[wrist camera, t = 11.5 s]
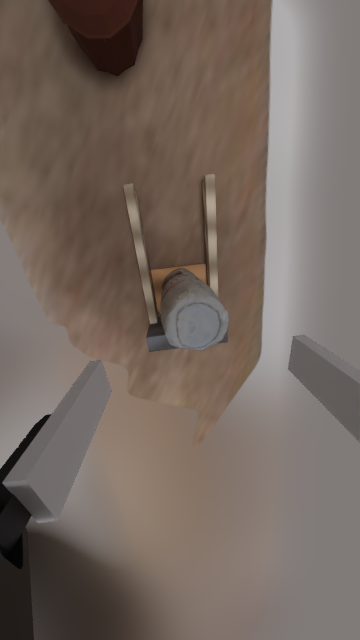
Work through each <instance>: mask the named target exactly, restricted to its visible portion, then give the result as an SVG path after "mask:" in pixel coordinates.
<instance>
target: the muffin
mask: <svg viewBox="0 0 360 640" xmlns="http://www.w3.org/2000/svg"><path fill="white" fill-rule="evenodd" d="M49 2H50V3H51V5H52V6H53V8H54V9H55V11H56V12H57V14H58V15H59V17H60V18H61V19H62V21H63V22H64V23H65V24H66V25H67V26H68V28H69V29H70V31H71V33H72V34H73V36H74V38H75V39H76V41H77V42H78V44H79V46H80V47H81V49H82V50H83V51H84V52H85V53H86V54H87V55H88V57H89V58H90V59H91V60H92V62H93V63H94V65H95V67H96V68H97V70H99V71H105V72H109V73H111V74H114V75H116V76H119V75H120V74H121V73H122V72H123V71H124V70H125V69H127V68H129V67H131V66H133V65H135V60H136V56H137V51H138V49H139V46H140V44H141V41H142V13H143V0H49Z"/></svg>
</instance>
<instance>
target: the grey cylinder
mask: <svg viewBox="0 0 360 640" xmlns="http://www.w3.org/2000/svg"><path fill="white" fill-rule="evenodd" d="M160 309H161V322H162V325H163V329H164V332H165V336H166V337H167V340H168V342H169V344H170V345H173V346H175V347H178V348H182V349H193V350H205V349H207V348H208V347H210V346H212V345H214V344H216V343H218V342H220V341H221V340H222V339H223V337H224V335H225V333H226V331H227V328H228V322H229V318H228V311H227V310H226V308H225V307H224V305H223V304H222V302H221V301H220V300H219V299H218V297H217V296H216V294H215V293H214V291H213V290H212V289H211V288H210V287H209V286H208V285H207V284H205V283H204V282H203V281H202V280H201V279H199V278H198V277H197V276H195V275H194V274H193V273H192V272H190V271H188V270H187V269H185V268H181V269H180V268H178V269H176V270H174V271H172V272H171V273H170V274H169V275H168V276H167V277H166V278H165V279H164V281H163V283H162V293H161V303H160Z"/></svg>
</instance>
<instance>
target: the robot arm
mask: <svg viewBox="0 0 360 640" xmlns="http://www.w3.org/2000/svg"><path fill="white" fill-rule="evenodd" d="M288 369H289V371H290V372H291V373H293V375H294V376H295V377H296V378H297V379H298V380H299V381H300V382H301V383H302V384H303V385H304V386H305V387H306V388H307V389H308V390H309V391H310V392H311V393H312V394H313V395H314V396H315V397H316V398H317V399H318V400H319V401H320V402H321V403H322V404H323V405H324V406H325V407H326V408H327V410H328V411H330V413H331V414H332V415H333V416H334V417H335V418H336V419H337V420H338V421H339V422H340V423H341V424H342V425H343V426H344V427H345V428H346V429H347V430H348V431H349V432H350V433H351V434H352V435H353V436H354V437H355V438H356V439H357V440H358V441H359V442H360V371H359V370H358V369H357V368H355V367H353V366H352V365H350V364H349V363H347V362H346V361H344V360H342V359H341V358H340V357H338V356H336V355H335V354H333V353H332V352H330V351H329V350H327V349H326V348H324V347H322V346H321V345H319V344H318V343H316V342H315V341H313V340H311V339H310V338H308V337H307V336H305V335H299V336H293V340H292V346H291V353H290V360H289V366H288ZM111 392H112V390H111V387H110V384H109V381H108V378H107V375H106V372H105V370H104V366H103V364H102V361H101V360H96V361H90V362H89V363H88V365H87V366H86V368H85V369H84V370H83V372H82V373H81V375H80V376H79V377H78V379H77V380H76V381H75V383H74V384H73V386H72V387H71V388H70V390H69V391H68V392H67V394H66V395H65V397H64V398H63V400H62V401H61V402H60V403H59V405H58V406H57V408H56V409H55V410H54V412H53V413H52V414H50V415H45V416H44V417H43V418H42V419H41V420H40V421H39V422H37V423H36V424H35V425H34V427H33V428H32V429H31V430H30V432H29V433H28V434H27V436H26V438H24V439H23V441H22V442H21V443H20V445H19V447H18V448H17V449H16V450H15V451H14V452H13V454H12V455H11V456H10V457H9V459H8V460H7V461H6V463H5V464H4V465H3V466H2V468H1V469H0V640H34V635H33V616H32V598H31V580H30V564H29V545H28V532H27V529H26V525H27V523H28V521H29V519H30V517H31V516H32V517H33V518H34V519H35V520H36V521H37V523H41V522H50V521H58V518H59V516H60V514H61V511H62V509H63V507H64V504H65V502H66V499H67V497H68V494H69V492H70V490H71V487H72V485H73V483H74V480H75V478H76V476H77V473H78V471H79V468H80V466H81V463H82V461H83V459H84V456H85V454H86V452H87V449H88V447H89V444H90V442H91V440H92V437H93V435H94V432H95V430H96V428H97V425H98V423H99V420H100V418H101V416H102V413H103V411H104V409H105V406H106V404H107V401H108V399H109V397H110V394H111Z"/></svg>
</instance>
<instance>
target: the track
mask: <svg viewBox="0 0 360 640" xmlns="http://www.w3.org/2000/svg"><path fill="white" fill-rule="evenodd" d="M123 187H124V192H125V197H126V202H127V208H128V213H129V218H130V223H131V228H132V233H133V239H134V244H135V249H136V254H137V259H138V264H139V270H140V275H141V280H142V285H143V290H144V295H145V300H146V306H147V311H148V316H149V321H150V326H149V330H148V333H147V337H146V339H147V343H148V348H149V352H152V351H160V350H168V349H176V348H178V347H175V346H173V345H170V344H169V342H168V340H167V337H166V336H165V332H164V329H163V325H162V322H161V318H158V314H157V309H158V312H161V309H160V303H161V293H162V283H163V281H164V279H165V278H166V277H167V276H168V275H169V274H170V273H171V272H172V271H174V270H176V269H178V268H180V269H181V268H185V269H187V270H188V271H190V272H192V273H193V274H194V275H195V276H197V277H198V278H199V279H201V280H202V281H203V282H204V283H205V284H207V285H208V286H209V287H210V288H211V289H212V290H213V291H214V293H215V294H216V296H217V297H218V270H217V236H216V201H215V174H209V175H205V177H204V179H203V181H202V190H203V209H204V228H205V248H206V263H204V264H195V265H187V266H179V267H171V268H162V269H154V270H151V273H150V268H149V262H148V256H147V250H146V244H145V238H144V233H143V227H142V221H141V215H140V209H139V204H138V198H137V192H136V189H135V187H134V185H133V184H126V185H123ZM206 267H207V280H206ZM151 274H152V279H151ZM152 280H153V285H152ZM153 286H154V291H153ZM154 292H155V297H154ZM155 298H156V302H155ZM156 303H157V308H156ZM225 342H228V337H227V331H226V333H225V335H224V337H223V339H222V340H221V341H220V342H218V343H225ZM216 344H217V343H216Z"/></svg>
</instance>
